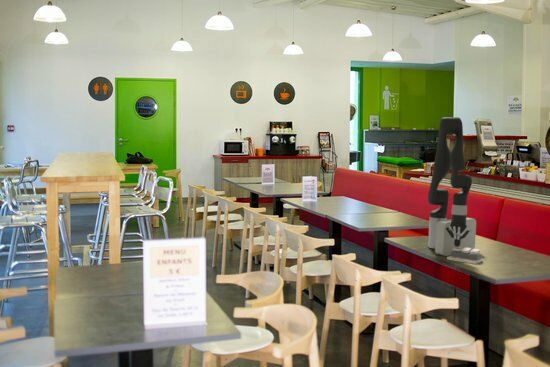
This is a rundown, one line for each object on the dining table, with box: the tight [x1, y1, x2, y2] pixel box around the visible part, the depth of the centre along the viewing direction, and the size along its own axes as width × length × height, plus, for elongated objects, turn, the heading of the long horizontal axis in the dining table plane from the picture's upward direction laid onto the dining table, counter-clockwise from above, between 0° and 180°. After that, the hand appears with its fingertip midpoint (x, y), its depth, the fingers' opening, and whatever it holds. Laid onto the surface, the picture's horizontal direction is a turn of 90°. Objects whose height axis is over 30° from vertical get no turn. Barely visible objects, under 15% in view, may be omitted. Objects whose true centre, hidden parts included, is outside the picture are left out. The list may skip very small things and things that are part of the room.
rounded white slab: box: [434, 217, 477, 257], centre depth 364 cm, size 29×8×18 cm, turn 129°
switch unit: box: [446, 250, 484, 265], centre depth 345 cm, size 10×15×4 cm, turn 52°
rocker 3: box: [470, 248, 481, 254], centre depth 343 cm, size 5×3×1 cm, turn 142°
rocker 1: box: [453, 247, 463, 251], centre depth 348 cm, size 5×3×1 cm, turn 142°
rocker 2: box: [462, 247, 471, 253], centre depth 346 cm, size 5×3×1 cm, turn 142°
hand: (457, 246), depth 347 cm, fingers closed
